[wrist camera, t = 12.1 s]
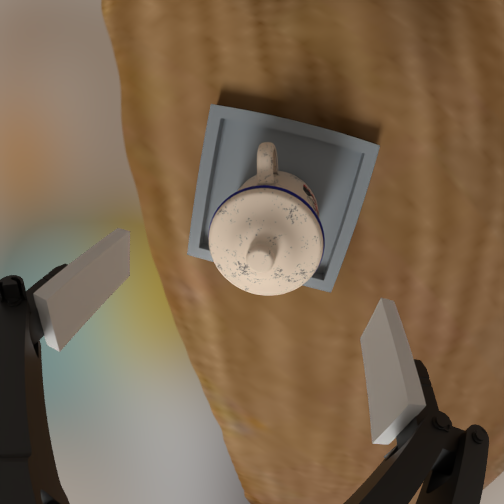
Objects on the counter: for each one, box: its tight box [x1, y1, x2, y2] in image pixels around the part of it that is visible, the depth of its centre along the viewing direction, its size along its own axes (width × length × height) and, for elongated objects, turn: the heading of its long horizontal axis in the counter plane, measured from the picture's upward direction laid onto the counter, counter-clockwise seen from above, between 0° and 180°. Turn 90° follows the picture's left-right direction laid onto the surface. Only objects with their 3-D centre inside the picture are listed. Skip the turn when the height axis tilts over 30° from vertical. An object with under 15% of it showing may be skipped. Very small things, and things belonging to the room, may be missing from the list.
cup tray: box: [187, 104, 380, 292], centre depth 31 cm, size 16×16×2 cm
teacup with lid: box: [208, 142, 325, 295], centre depth 26 cm, size 12×9×12 cm
